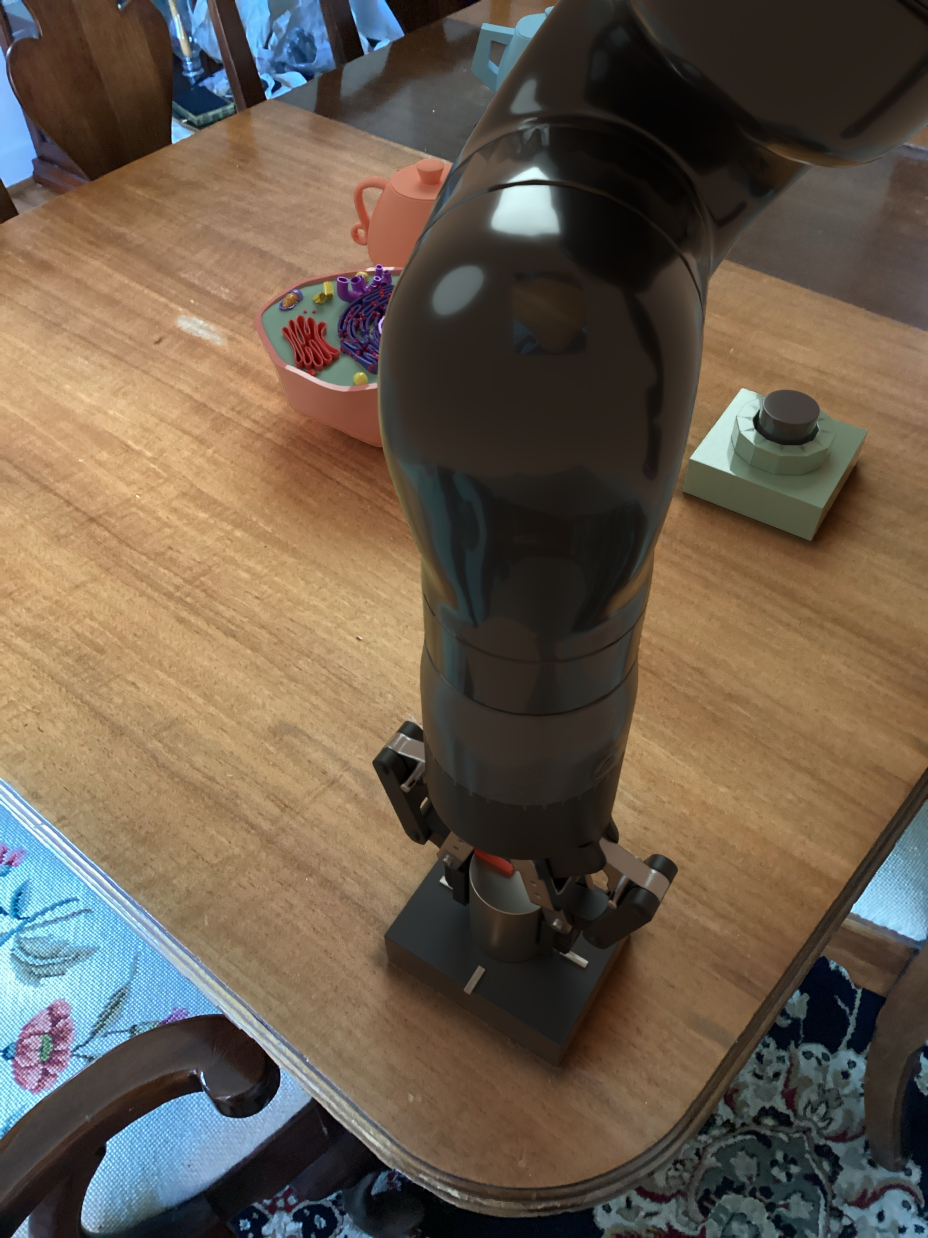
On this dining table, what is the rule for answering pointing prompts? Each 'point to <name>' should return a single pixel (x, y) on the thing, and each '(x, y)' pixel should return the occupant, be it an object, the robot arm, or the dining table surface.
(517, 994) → the panel
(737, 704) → the dining table surface
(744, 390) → the button base
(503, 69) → the teapot
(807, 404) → the button
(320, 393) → the cell model
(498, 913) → the knob
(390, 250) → the sugar bowl
